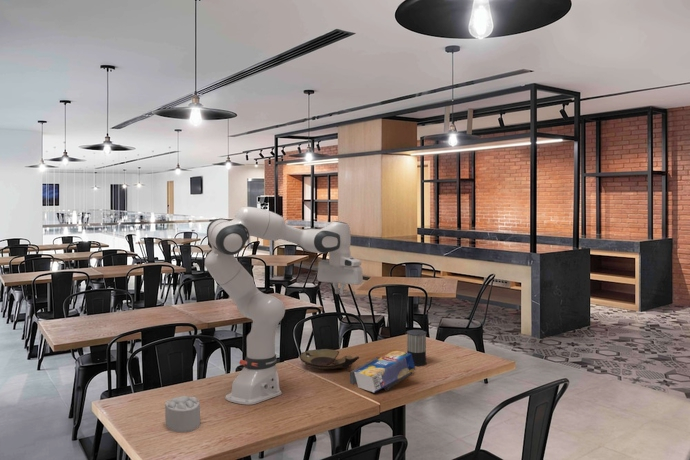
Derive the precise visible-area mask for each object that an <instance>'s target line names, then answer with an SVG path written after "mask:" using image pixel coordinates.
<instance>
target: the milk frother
mask: <svg viewBox="0 0 690 460" xmlns="http://www.w3.org/2000/svg"><path fill="white" fill-rule="evenodd" d="M406 335H407V336H406V347H407V348H406V349H407V350H406V351H407V352H406V353H410V354H412V358H413V362H414V366H415V367H422V366H425V365H427V346H426V345H427V331H425V330H423V329H422V330H421V329H410V330H407V331H406Z"/></svg>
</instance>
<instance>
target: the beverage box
mask: <svg viewBox="0 0 690 460" xmlns="http://www.w3.org/2000/svg"><path fill="white" fill-rule="evenodd" d="M413 371H416V366H414V362H413V358H412V354H410V353H407V352H404V351H402V350H401V351H400V350H395V349H394V350H393V351H392V350H391V352H389V353H387V354H385V355H382V356H381V357H380V358H379V359H377V360H375V361H373V362H372V363H370V364H368V365H366V366H364V367H362V368H360V369H358V370H356V371H354V373H355V377H356V380H357V382H356V384H357V387H358V388H359V389H362V390H366V391H368V392H372V393H376V392H378V391H380V390H382V389H384V387H385V386H387V385H389V384H391V383H392V382H394V381H396V380H398V379H399V378H401V377H403V376H405V375H407V374H408V373H410V372H412V373H413Z"/></svg>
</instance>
